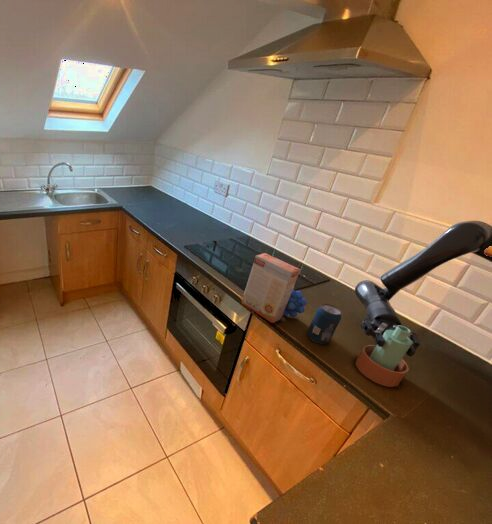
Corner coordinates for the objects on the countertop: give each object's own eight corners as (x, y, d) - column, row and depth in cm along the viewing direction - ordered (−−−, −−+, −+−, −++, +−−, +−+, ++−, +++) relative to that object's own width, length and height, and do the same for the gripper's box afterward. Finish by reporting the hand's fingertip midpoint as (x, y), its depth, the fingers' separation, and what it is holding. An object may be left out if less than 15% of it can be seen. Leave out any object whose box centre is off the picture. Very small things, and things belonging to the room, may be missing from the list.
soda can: (314, 329, 105) (327, 300, 100) (333, 341, 100) (348, 312, 95) (301, 334, 102) (314, 305, 96) (320, 347, 97) (335, 317, 91)
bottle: (377, 356, 92) (400, 320, 86) (397, 372, 87) (423, 335, 80) (362, 359, 90) (385, 322, 84) (382, 375, 85) (407, 337, 79)
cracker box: (281, 319, 108) (301, 269, 99) (271, 324, 105) (291, 272, 96) (250, 299, 118) (265, 251, 109) (240, 303, 115) (255, 254, 105)
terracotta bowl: (373, 356, 96) (381, 343, 93) (408, 383, 86) (418, 370, 84) (347, 360, 93) (354, 347, 90) (380, 389, 83) (390, 375, 81)
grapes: (269, 319, 108) (280, 290, 102) (266, 308, 114) (276, 281, 108) (303, 326, 106) (316, 298, 101) (298, 315, 112) (310, 288, 107)
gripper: (362, 300, 97) (372, 329, 83) (415, 315, 92) (436, 348, 78) (352, 318, 100) (360, 349, 87) (403, 334, 96) (420, 369, 82)
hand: (396, 349), depth 83 cm, fingers closed on bottle, 6 cm apart
